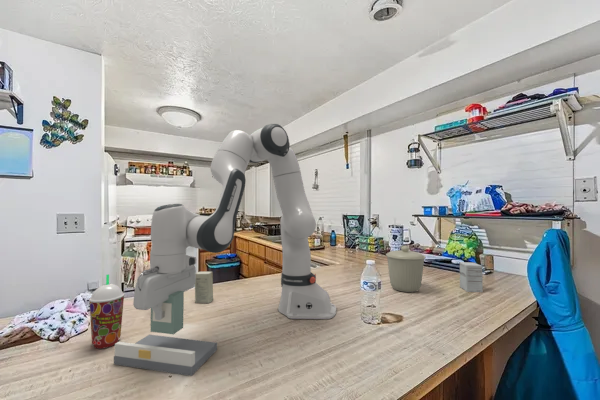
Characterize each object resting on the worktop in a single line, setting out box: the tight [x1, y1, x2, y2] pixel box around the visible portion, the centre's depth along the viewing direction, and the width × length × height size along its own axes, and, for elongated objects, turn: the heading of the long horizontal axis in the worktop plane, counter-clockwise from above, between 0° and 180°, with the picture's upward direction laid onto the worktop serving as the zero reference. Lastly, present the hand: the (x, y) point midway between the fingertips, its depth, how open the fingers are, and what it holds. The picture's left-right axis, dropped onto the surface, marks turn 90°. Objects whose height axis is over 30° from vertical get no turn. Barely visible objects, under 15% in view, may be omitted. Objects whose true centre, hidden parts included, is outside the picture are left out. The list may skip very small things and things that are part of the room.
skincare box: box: [194, 271, 214, 304], centre depth 115 cm, size 6×4×12 cm
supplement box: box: [459, 261, 484, 293], centre depth 132 cm, size 7×7×13 cm
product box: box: [150, 291, 185, 335], centre depth 74 cm, size 4×7×10 cm, turn 78°
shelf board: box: [113, 334, 218, 377], centre depth 72 cm, size 22×12×5 cm, turn 78°
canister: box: [385, 245, 426, 293], centre depth 133 cm, size 18×18×21 cm
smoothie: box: [89, 274, 125, 349], centre depth 79 cm, size 8×8×20 cm
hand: (167, 314), depth 74 cm, fingers closed on product box, 4 cm apart
